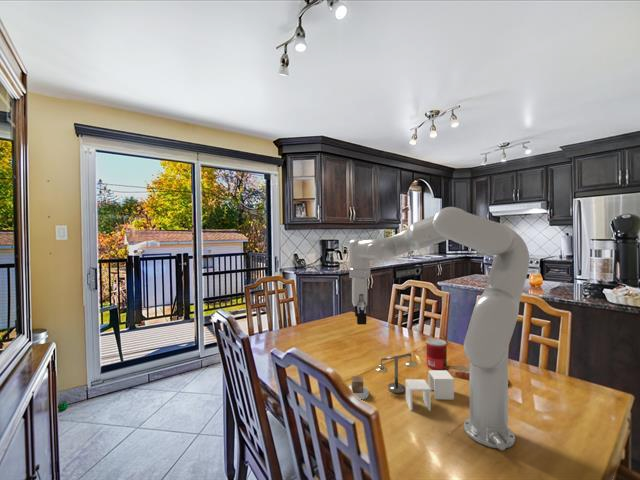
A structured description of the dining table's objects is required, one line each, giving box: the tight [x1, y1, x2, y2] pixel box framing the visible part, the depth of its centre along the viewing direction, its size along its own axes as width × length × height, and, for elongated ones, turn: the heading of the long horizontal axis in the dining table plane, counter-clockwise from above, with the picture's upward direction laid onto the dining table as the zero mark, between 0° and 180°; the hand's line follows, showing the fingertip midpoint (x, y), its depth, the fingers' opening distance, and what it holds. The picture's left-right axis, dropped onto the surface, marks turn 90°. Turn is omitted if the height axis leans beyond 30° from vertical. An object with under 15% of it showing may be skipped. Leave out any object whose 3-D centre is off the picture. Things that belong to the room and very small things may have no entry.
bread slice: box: [447, 365, 511, 386], centre depth 118 cm, size 18×18×4 cm
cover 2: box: [428, 369, 455, 400], centre depth 106 cm, size 6×6×7 cm
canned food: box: [426, 337, 448, 370], centre depth 128 cm, size 8×8×11 cm
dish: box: [348, 384, 370, 401], centre depth 108 cm, size 9×9×1 cm
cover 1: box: [404, 378, 432, 412], centre depth 100 cm, size 6×6×7 cm
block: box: [350, 375, 364, 393], centre depth 108 cm, size 4×4×4 cm
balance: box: [374, 353, 418, 395], centre depth 110 cm, size 6×15×13 cm, turn 87°
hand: (360, 320), depth 108 cm, fingers open, 9 cm apart
